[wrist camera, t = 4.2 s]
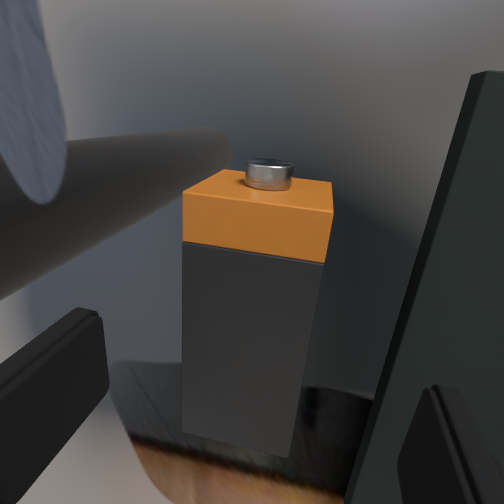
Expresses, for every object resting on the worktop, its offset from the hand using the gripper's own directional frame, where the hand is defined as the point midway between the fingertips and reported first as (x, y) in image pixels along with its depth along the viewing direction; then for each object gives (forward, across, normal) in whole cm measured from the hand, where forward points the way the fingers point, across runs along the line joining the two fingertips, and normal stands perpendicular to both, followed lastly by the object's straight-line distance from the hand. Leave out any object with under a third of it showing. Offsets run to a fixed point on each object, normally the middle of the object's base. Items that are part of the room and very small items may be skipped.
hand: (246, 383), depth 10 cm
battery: (+6, +1, 0) cm, 6 cm away
